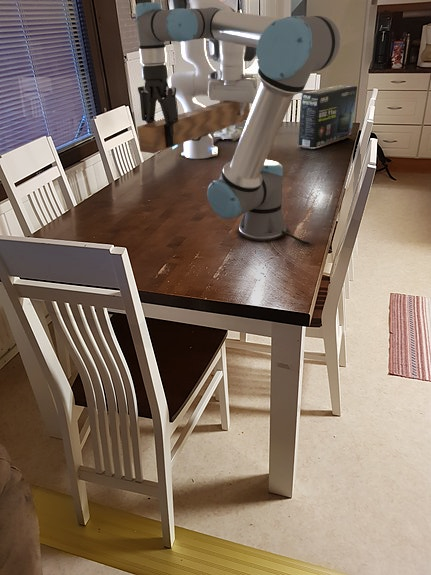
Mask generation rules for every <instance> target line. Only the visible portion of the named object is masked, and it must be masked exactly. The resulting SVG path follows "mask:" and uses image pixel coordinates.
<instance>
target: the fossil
mask: <svg viewBox="0 0 431 575" xmlns="http://www.w3.org/2000/svg"><path fill="white" fill-rule="evenodd" d="M243 129H244V127H241V126H238V127H237V126H236V124H233V125H231V126H228V127H225V128H222V129H221V130H217V131H214V132H213V134H212V135H213V138H215V137H220V138H221V139H220V140H224V139H237V140H239V139H240V137H241V134H242V131H243ZM238 138H239V139H238ZM217 139H219V138H215V140H217ZM237 140H231V141H232V142H236V141H237Z"/></svg>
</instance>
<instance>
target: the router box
mask: <svg viewBox="0 0 431 575" xmlns="http://www.w3.org/2000/svg"><path fill="white" fill-rule="evenodd" d="M357 93H358V86H356V85H350V84H339V85H338V84H337V85H334V86H328V87H324V88H318V89H314V90H309V91H304V92H303V91H302V92H301V93H300V109H299V110H300V111H299V124H298V137H297V146H298V145H302V146H307V147H317V146H320V145H323V144H325V143H328V142H331V141H333V140H336V139H338V138H341V137H344V136H347V135H351V136H352V133H353V132H352V131H353V125H354V115H355V109H356V99H357ZM311 151H313V150H312V149H311Z"/></svg>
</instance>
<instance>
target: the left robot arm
mask: <svg viewBox="0 0 431 575" xmlns="http://www.w3.org/2000/svg"><path fill="white" fill-rule="evenodd" d="M210 7H212V8H220V9H222V10H225V11H232V12H237V11H236V10H235V9H234V8H233V7H231V6H229V5H228V4H227V3H225V2H224V1H223V0H169V4H168V8H169V10H170V9H177V8H184V9H201V8H210ZM206 47H207V46H206V39H194V40H189V41H182V42H180V51H181V52H180V53H181V57H182V59H183V60H184V61H185V62H187V63H189V64H191V65H192V66H194V69H195V70H182V71H177V72H174V73H171V74H170V76H168V79H167V83H168V86H169V87H172V88H174V87H175V88H176V100H178V101H179V102H180V104H181V105H182V108H183V111H184V113H186V112H189V111H193V110H196V109H200V108H203V107H206V106H205V105H203V104H202V103H200V102H198V101H197V99H196V97H208V98H209V101H218V102H219V103H220V102H224V101H229V102H240V106H241V108H240V110H238V115H243V114H244V109H245V107H246V103H249V104H253V102H254V99H255V96H256V93H257V91H258V79H257V77H256V76H254V75H253V74H246V71H245V68H246V67H245V62H252V61H253V60H254V59H255V58H256V57H257V56H256V50H257V48H255V47H249V46H244V45H239V44H234V43H229V42H224V41H218V40H212V39H208V55H209V57H210V58H211V59H212V60H213V61H214V62H216V63H217V62H218V63H219V69H215V68H214V67H213V66H212V65H211V63H210V61H209V58H208V55H207V48H206ZM216 140H217V139H216ZM221 140H222V139H221V138H220V139H218V140H217V141H215V140H214V137H213V136H212V134H211V133H208V134H206V135H203V136H200V137H197V138H195V139H192V140H189V141H186V142H184V143H183V151H182V152H181V153H180V155H181V156H182V157H185V158H188V159H193V160H194V159H195V160H200V159H208V158H211V157H217V156H218V152H219V148H218V146H215V145H214V144H216V143H217V142H218V141H221ZM177 147H178V145H175V146H173V147H171V149H172V150H174V149H175V148H177Z"/></svg>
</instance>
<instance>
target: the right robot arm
mask: <svg viewBox="0 0 431 575" xmlns="http://www.w3.org/2000/svg"><path fill="white" fill-rule="evenodd" d="M162 6H163V5H162V3H161V2H158V1H154V2H153V1H151V2H139V3H136V4H135V7H134V10H135V12H134V13H135V24H136V30H137V31H136V34H137V40H138V48H139V58H140V64H141V65H142V66H141V76H142V79H143V80H144V84H143V85H141V86H138V87H137V92H138V94H139V103H140V116H141V121H143V122H146V124H148V123H152V122H155V121H157V120H156V119H155V116H156V108H157V102H158V103H159V105H160V106H159V107H160V108H161V112H162V116H163V119H165V122H166V124H164V130H165V140H166V147H170V146H173V135H174V128H173V124H174V123H176V122H178V115H179V114H178V106H177V98H176V88H175V87H174V88H172V87H169V86H168V79H169V73H168V72H169V71H168V65H167V64H166V63H167V62H168V61H167V50H166V42H179V43H181V42H182V41H189V40H194V39H205V40H210V39H212V40H218V41H224V42H229V43H234V44H239V45H244V46H249V47H255V48H257V50H256V56H255V57H257V66H258V70H257V75H258V78H259V80H260V83H259V85H258V87H257V93H256V96H255V99H254V102H253V103H251V104H252V105H251V107H250V112H249V115H248V118H247V120H245V124H244V126H243V128H244V129H243V131H242V134H241V137H240V138H239V139H238V143H237V145H236V148H235V151H234V153H233V156H232V159H231V161H228V162H226V163H225V164H224V165H223V167H222V170H221V173H220V175H219V178H218V179H214V180H213V181H212V182H211V183H209V185H208V187H207V191H206V196H207V200H208V204H209V206H210V207H211V210H212V211H213V212H214V213H215V214H216V215H217V216H218V217H219V218H221V219H224V220H232V219H235V218H238V217H240V216H241V220H240V221H239V224H238V225H239V226H238V232H239V235H240V236H241V237H242V238H244V239H247V240H250V241H254V242H271V241H277V240H279V239H281V238H283V237H285V235H286V236H288V237H290V238H292V239H293V240H296V241H297V242H299V243H302V244H305V245H310V243H311V242H310V241H308V240H307V241H306V240H303V239H300V238H298V237H297V236H295V235H293V234H291V233H289V232H287V223H286V221H285V216H284V214H283V210H282V200H283V182H284V180H283V179H284V169H283V165H282V164H281V163H280V162H278V161H274V160H270V159H268V156H269V154H270V152H271V149H272V147H273V145H274V143H275V140H276V138H277V135H278V133H279V130H280V129H281V126H282V124H283V122H284V119H285V117H286V116H287V112H288V110H289V108H290V106H291V103H292V102H293V99H294V96H296V95H298V94H301V93H303V91H304V90H305V87H306V85H307V83H308V81H309V78H310V76H311V74H312V73H315V72H319V71H322V70H324V69H326V68H328V67H329V66H330V65H332V64H333V62H334V61H335V59H336V58H337V56H338V54H339V51H340V48H341V41H342V40H341V34H340V31H339V28H338V26H337V24H336V23H335V22H334V21H333V20H332V19H330V18H329V17H326V16H322V15H311V16H286V17H283V18H280V17H274V16H266V15H259V14H252V13H245V12H237V11H236V12H232V11H225V10H222V9H220V8H212V7H210V8H201V9H184V8H177V9H170V8H169V9H163V7H162ZM173 147H174V146H173ZM170 148H171V147H170Z"/></svg>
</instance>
